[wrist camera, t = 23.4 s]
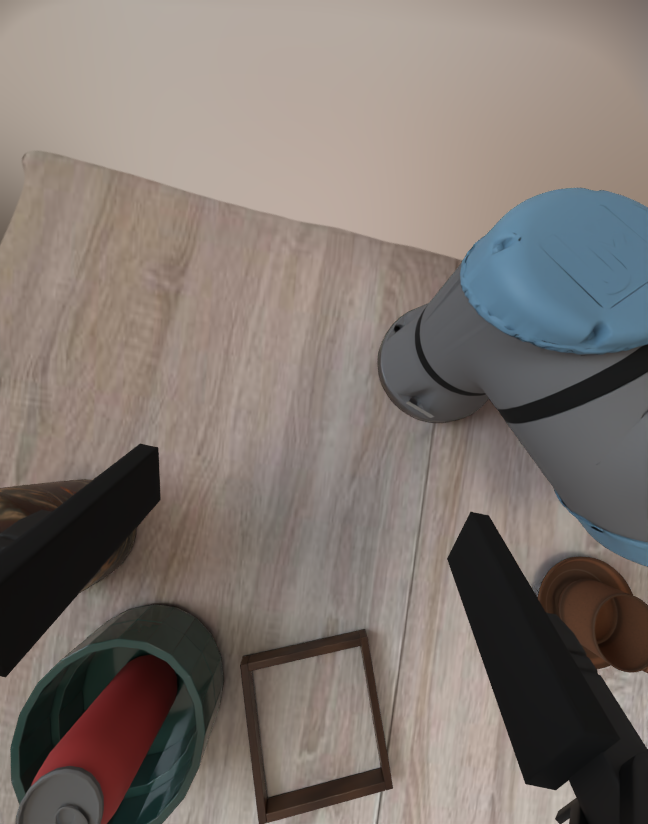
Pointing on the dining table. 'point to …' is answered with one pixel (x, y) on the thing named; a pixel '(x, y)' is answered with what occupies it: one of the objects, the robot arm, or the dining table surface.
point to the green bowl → (91, 673)
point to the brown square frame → (327, 791)
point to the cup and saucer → (599, 612)
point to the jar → (25, 500)
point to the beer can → (102, 748)
